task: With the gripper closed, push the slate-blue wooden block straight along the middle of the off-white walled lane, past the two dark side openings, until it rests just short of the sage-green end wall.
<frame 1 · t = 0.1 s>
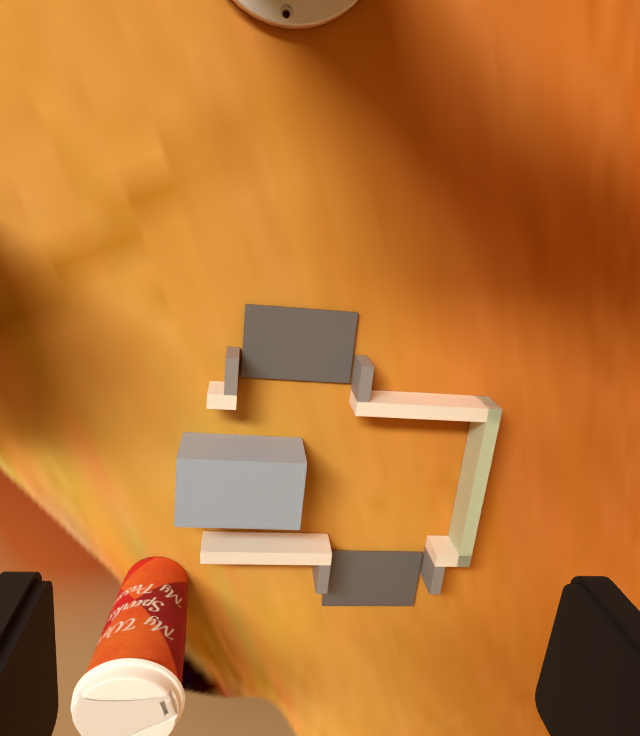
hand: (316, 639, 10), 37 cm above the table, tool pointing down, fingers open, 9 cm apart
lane: (343, 470, 51), on the table
block: (241, 465, 50), on the table
paper cup: (156, 580, 53), on the table
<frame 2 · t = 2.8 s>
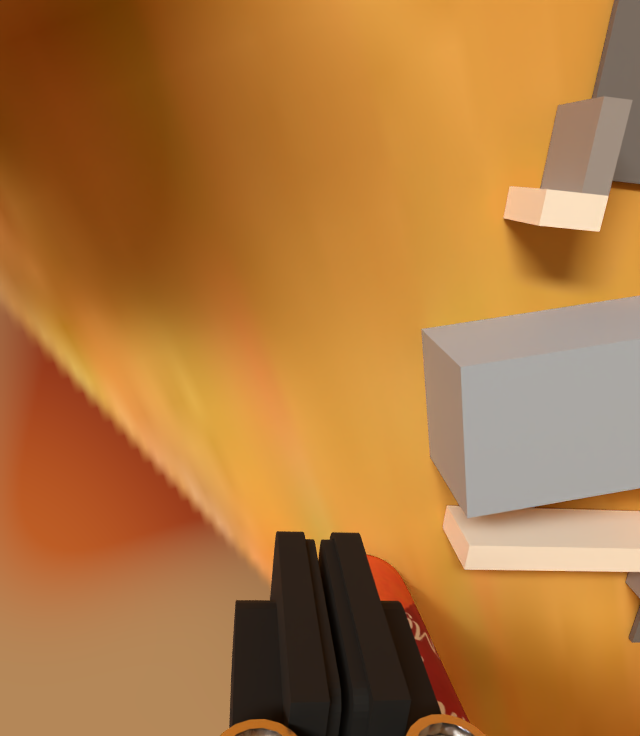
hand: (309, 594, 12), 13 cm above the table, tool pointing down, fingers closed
block: (535, 376, 25), on the table
paper cup: (347, 598, 28), on the table
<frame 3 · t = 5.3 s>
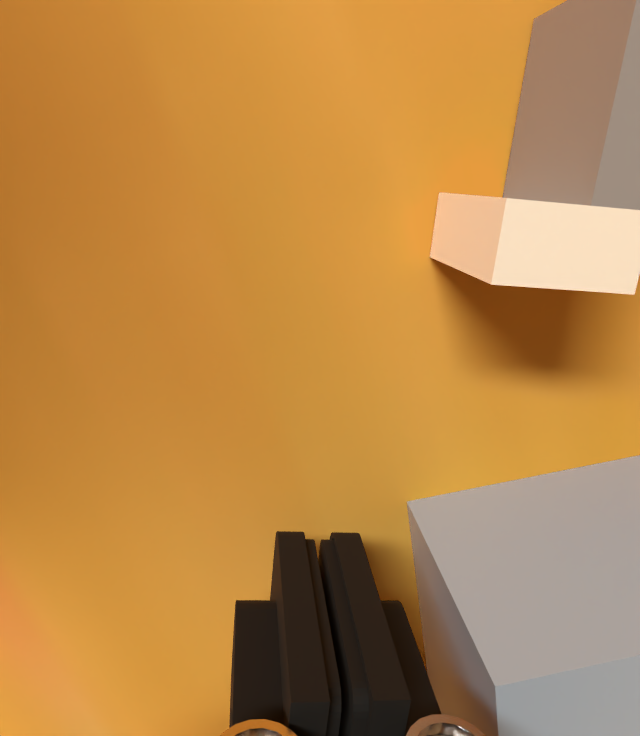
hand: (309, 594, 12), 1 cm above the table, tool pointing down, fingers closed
block: (615, 564, 14), on the table, touching gripper
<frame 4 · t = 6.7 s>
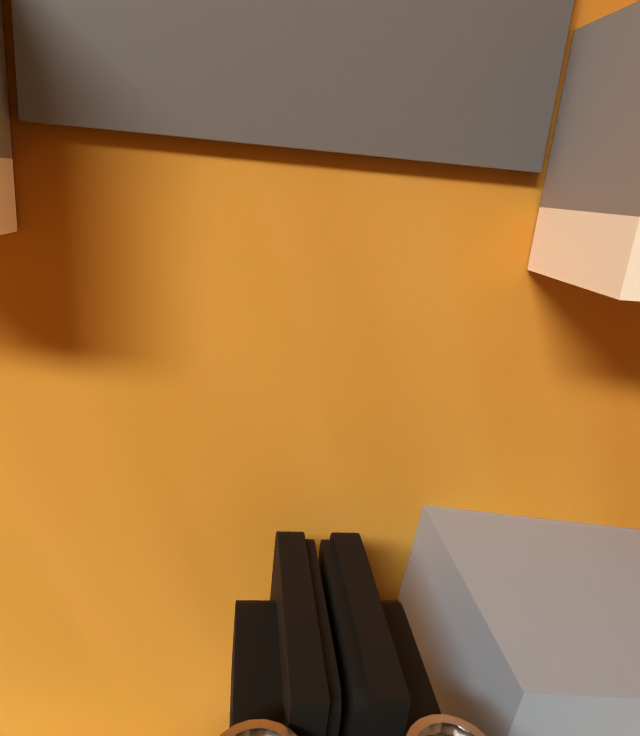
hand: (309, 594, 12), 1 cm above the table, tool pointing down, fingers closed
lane: (482, 550, 13), on the table
block: (580, 628, 15), on the table, touching gripper
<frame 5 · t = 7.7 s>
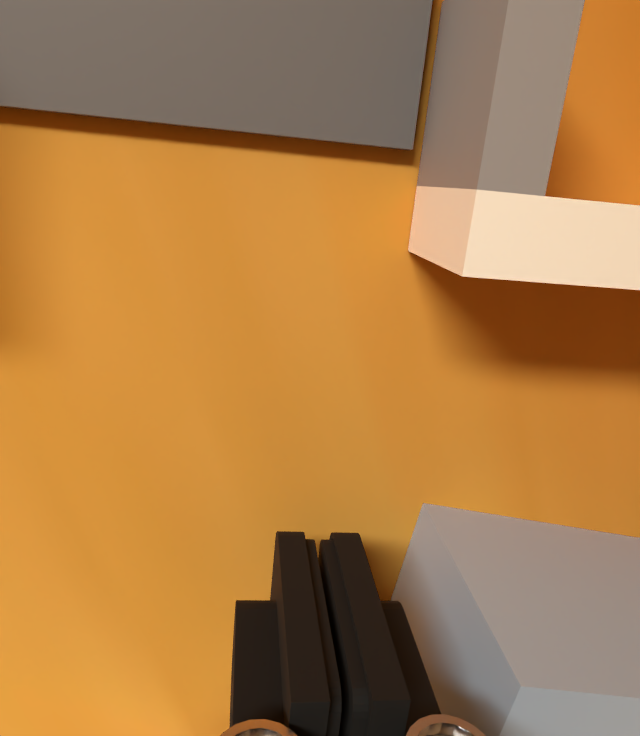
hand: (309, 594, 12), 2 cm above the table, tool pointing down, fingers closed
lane: (379, 539, 13), on the table
block: (569, 632, 15), on the table, touching gripper, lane
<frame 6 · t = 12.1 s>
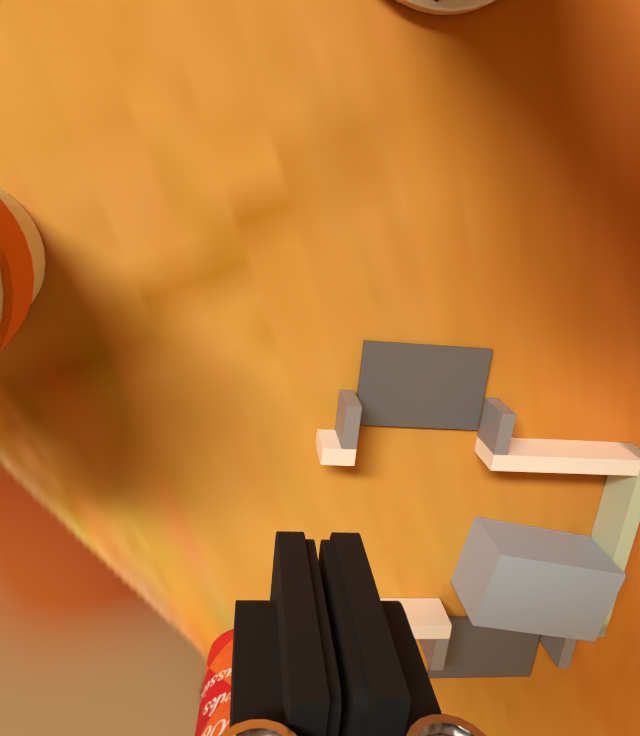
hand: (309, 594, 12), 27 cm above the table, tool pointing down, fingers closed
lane: (462, 528, 44), on the table
block: (519, 557, 46), on the table
paper cup: (243, 653, 46), on the table
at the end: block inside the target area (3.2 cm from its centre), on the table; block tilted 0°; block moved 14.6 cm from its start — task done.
